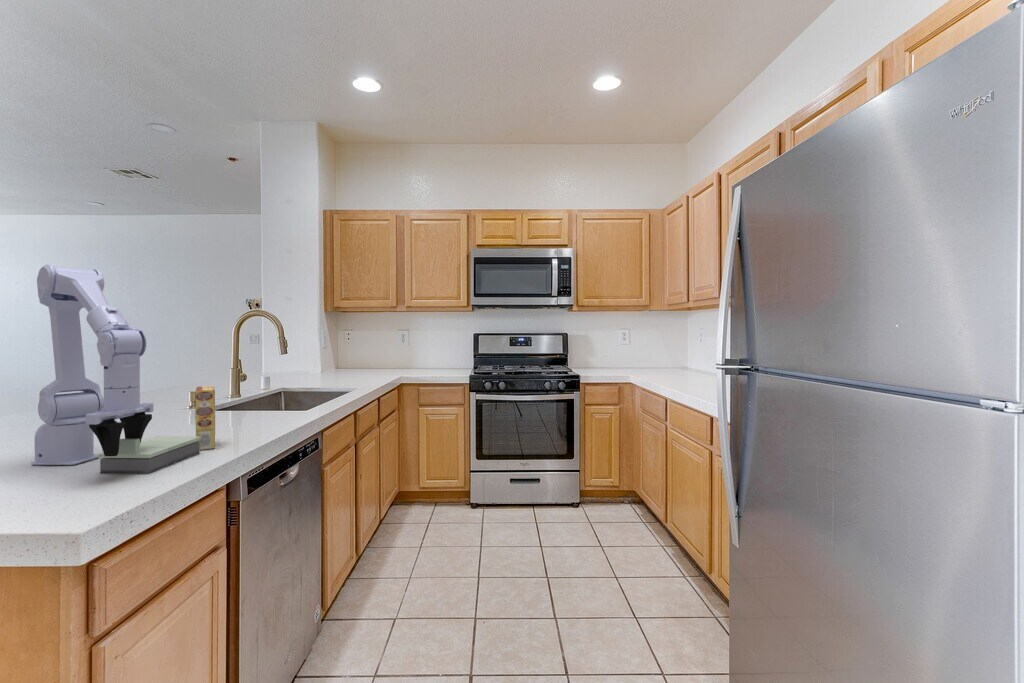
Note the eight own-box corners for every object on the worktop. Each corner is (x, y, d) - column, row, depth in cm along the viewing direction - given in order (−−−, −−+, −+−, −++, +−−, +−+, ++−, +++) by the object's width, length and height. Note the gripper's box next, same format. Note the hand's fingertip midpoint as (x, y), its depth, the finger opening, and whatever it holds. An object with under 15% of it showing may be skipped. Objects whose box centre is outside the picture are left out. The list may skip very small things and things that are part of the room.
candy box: (215, 449, 116) (215, 389, 116) (194, 451, 114) (195, 390, 113) (215, 441, 123) (215, 385, 123) (196, 443, 121) (196, 386, 121)
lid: (97, 457, 95) (97, 439, 95) (157, 439, 111) (157, 424, 111) (149, 458, 95) (149, 440, 95) (201, 439, 112) (201, 424, 112)
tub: (100, 473, 95) (100, 459, 95) (157, 453, 111) (157, 440, 111) (148, 473, 95) (148, 459, 95) (199, 453, 111) (199, 441, 111)
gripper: (111, 392, 87) (112, 462, 88) (167, 383, 102) (167, 443, 102) (74, 391, 87) (74, 462, 87) (135, 383, 102) (135, 443, 102)
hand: (122, 452), depth 95 cm, fingers open, 5 cm apart
